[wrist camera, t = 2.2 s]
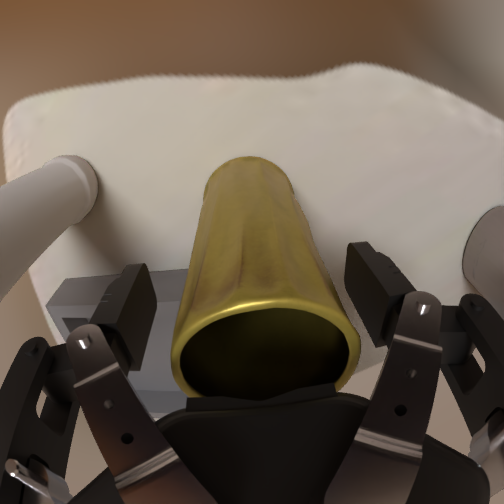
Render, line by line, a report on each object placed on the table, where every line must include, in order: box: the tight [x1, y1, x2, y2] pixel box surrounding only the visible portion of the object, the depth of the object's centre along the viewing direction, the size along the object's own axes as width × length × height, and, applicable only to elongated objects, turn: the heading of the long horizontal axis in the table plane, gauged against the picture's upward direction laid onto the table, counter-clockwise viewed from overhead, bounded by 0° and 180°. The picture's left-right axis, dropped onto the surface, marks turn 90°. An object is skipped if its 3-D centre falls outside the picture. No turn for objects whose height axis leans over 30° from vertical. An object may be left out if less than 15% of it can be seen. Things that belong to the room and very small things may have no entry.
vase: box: [170, 156, 361, 401], centre depth 13 cm, size 6×6×14 cm
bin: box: [46, 269, 188, 418], centre depth 24 cm, size 16×16×4 cm
